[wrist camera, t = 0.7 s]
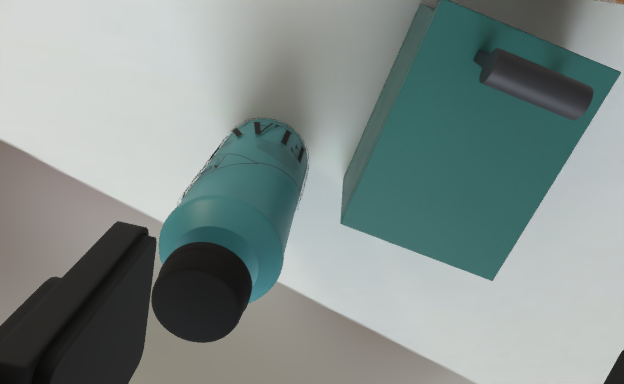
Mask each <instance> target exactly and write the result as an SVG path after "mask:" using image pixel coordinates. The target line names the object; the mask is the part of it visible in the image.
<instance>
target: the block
mask: <svg viewBox="0 0 624 384" xmlns="http://www.w3.org/2000/svg"><path fill="white" fill-rule="evenodd" d="M596 1H602V2H609V3H616V4H624V0H596Z"/></svg>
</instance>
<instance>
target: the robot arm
mask: <svg viewBox="0 0 624 384" xmlns="http://www.w3.org/2000/svg"><path fill="white" fill-rule="evenodd" d="M155 252H156V238H155V237H151V236H148V229H147V228H145V227H141V226H137V225H133V224H128V223H123V222H116V223H115V224H114V225H113V226H112V227H111V228H110V229H109V230H108V231H107V232H106V233H105V234H104V235H103V236H102V237H101V238H100V239H99V240H98V241H97V242H96V243H95V244H94V245H93V246H92V247H91V249H90V250H89V251H88V252H87V253H86V254H85V255H84V256H83V257H82V258H81V259H80V260H79V261H78V262H77V263H76V264H75V265H74V266H73V267H72V268H71V269H70V270H69V271H68V272H67V273H66V274H65V275H64V276H63V277H62V278H59V277H51V278H50V279H48V280H47V281H45V282H44V283H43V284H42V285H41V286H40V287H39V288H38V289H37V290H36V291H35V292H34V293H33V294H32V295H31V296H30V297H29V298H28V299H27V300H26V301H25V302H24V303H23V304H22V305H21V306H20V307H19V308H18V309H17V310H16V311H15V312H14V313H13V314H12V315H11V316H10V317H9V318H8V319H7V320H6V321H5V322H4V323H3V324H2V325H1V326H0V384H128V383H129V381H130V379H131V377H132V375H133V374H134V372H135V370H136V368H137V366H138V364H139V362H140V360H141V357H142V354H143V349H144V343H145V335H146V326H147V318H148V310H149V302H150V293H151V285H152V277H153V269H154V268H153V267H154V260H155ZM604 384H624V350H623V351H622V352H621V354H620V355H619V357H618V359H617V361H616V363H615V364H614V366H613V368H612V370H611V371H610V373H609V375H608V377H607V379H606V380H605V382H604Z"/></svg>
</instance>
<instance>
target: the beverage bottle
mask: <svg viewBox="0 0 624 384" xmlns="http://www.w3.org/2000/svg"><path fill="white" fill-rule="evenodd" d="M254 119H255V118H254ZM249 120H250V119H249ZM246 121H247V120H246ZM238 125H239V124H238ZM235 127H237V126H235ZM231 131H233V132H232V133H231V134H230V136H229V137H228V136H227V137H228V138H227V137H226V138H227V140H226V141H225V142H224V144H223V145H221V144H220V145H221V148H220V149H219V147H220V146H219V147H218V148H217V150H218V152H217V150H216V151H215V152H214V154H215V153H216V152H217V153H216V154H215V156H214V154H213V155H212V156H211V158H212V157H213V156H214V157H213V158H212V160H211V158H210V159H208V161H210V160H211V161H210V163H209V162H208V161H207V162H206V163H209V164H208V165H207V167H206V164H205V166H204V167H203V169H204V168H205V167H206V168H205V169H204V171H202V170H203V169H202V170H200V172H201V171H202V173H201V175H200V174H199V175H200V176H199V175H198V174H197V176H199V177H198V179H197V180H196V181H195V182H194V184H193V186H192V187H191V188H190V187H189V186H188V188H189V189H190V190H189V191H187V192H184V194H185V193H187V194H186V195H184V196H182V197H184V198H182V199H181V200H182V201H181V203H180V204H179V206H178V207H177V208H176V209H175V210H174V211H173V212H172V213H171V214H170V215H169V217H168V218H167V219H166V221H165V223H164V225H163V227H162V230H161V233H160V238H159V254H160V259H161V262H162V265H163V266H162V267H161V270H160V272H159V276H158V278H157V280H156V282H155V284H154V287H153V290H152V308H153V311H154V313H155V316H156V317H157V319H158V321H159V322H160V323H161V324H162V325H163V327H165V328H166V329H167V330H168V331H169V332H171V333H172V334H174V335H176V336H177V337H180V338H182V339H184V340H188V341H192V342H202V343H205V342H212V341H216V340H219V339H221V338H223V337H225V336H226V335H227V334H229V333H230V332H231V331H232V330H233V329H234V328H235V327H236V325H237V324H238V322H239V320H240V318H241V316H242V313H243V312H244V310H245V309H246V307H247V305H248V303H251V302H253V301H255V300H257V299H259V298H260V297H262V296H263V295H264V294H265V293H267V292H268V291H269V290H270V289H271V287H272V286H273V285H274V284H275V282H276V281H277V279H278V277H279V275H280V273H281V269H282V266H283V260H284V252H285V248H286V244H287V240H288V236H289V232H290V228H291V224H292V220H293V216H294V212H295V210H296V207H297V204H298V200H299V196H300V199H301V195H303V193H302V194H301V195H300V193H301V189H302V185H303V181H304V178H305V174H306V170H307V169H308V168H309V166H308V168H307V162H308V161H307V153H306V148H307V147H306V148H305V146H304V144H303V142H304V141H303V142H302V140H303V139H302V140H301V139H300V137H299V136H300V135H299V134H298V135H299V136H298V135H297V133H296V132H295V131H294V129H293V128H292V129H291V128H290V126H287V124H285V123H283V122H282V123H281V121H280V122H279V121H278V120H277V121H276V120H275V119H274V120H272V119H271V118H269V119H256V120H250V121H248V122H245V123H244V124H243V123H242V125H241V124H240V126H239V127H237V128H235V129H234V130H233V129H232V130H231ZM226 138H225V139H226ZM223 141H224V140H223ZM307 151H308V150H307ZM308 155H309V154H308ZM308 158H309V157H308ZM308 164H309V163H308ZM307 175H308V174H307ZM196 178H197V177H196ZM306 178H307V177H306ZM306 178H305V179H306ZM194 180H195V178H194ZM194 180H193V181H194ZM193 181H192V182H193ZM190 185H191V184H190ZM304 185H305V184H304ZM304 187H305V186H304ZM188 188H187V189H188ZM185 191H186V190H185ZM302 191H303V190H302ZM179 199H180V198H179ZM299 203H300V202H299ZM177 205H178V204H177ZM298 209H299V208H298Z"/></svg>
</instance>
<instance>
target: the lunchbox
mask: <svg viewBox="0 0 624 384" xmlns="http://www.w3.org/2000/svg"><path fill="white" fill-rule="evenodd" d="M434 11H435V9H433V8H430V7H428V6H425V5H423V4H420V5H419V7H418V10H417V12H416V14H415V16H414V19H413V21H412V23H411V26H410V28H409V30H408V32H407V35H406V37H405V39H404V42H403V44H402V46H401V48H400V51H399V53H398V55H397V58H396V60H395V62H394V64H393V67H392V69H391V71H390V73H389V76H388V78H387V80H386V83H385V85H384V87H383V89H382V92H381V94H380V96H379V99H378V101H377V103H376V105H375V108H374V110H373V112H372V115H371V117H370V119H369V121H368V124H367V126H366V128H365V131H364V133H363V135H362V137H361V140H360V142H359V144H358V147H357V149H356V151H355V153H354V156H353V158H352V160H351V162H350V165H349V167H348V169H347V172H346V174H345V176H344V178H343V191H342V208H341V217H342V214H343V212H344V210H345V208H346V206H347V203H348V201H349V199H350V197H351V195H352V192H353V190H354V188H355V186H356V183H357V181H358V179H359V177H360V175H361V172H362V170H363V168H364V166H365V163H366V161H367V159H368V157H369V155H370V152H371V150H372V148H373V146H374V144H375V141H376V139H377V137H378V135H379V132H380V130H381V128H382V126H383V124H384V121H385V119H386V117H387V115H388V112H389V110H390V108H391V106H392V104H393V101H394V99H395V97H396V95H397V93H398V90H399V88H400V86H401V84H402V81H403V79H404V77H405V75H406V73H407V70H408V68H409V66H410V64H411V62H412V59H413V57H414V55H415V53H416V50H417V48H418V46H419V44H420V42H421V39H422V37H423V35H424V33H425V30H426V28H427V26H428V24H429V22H430V19H431V17H432V15H433V13H434Z"/></svg>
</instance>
